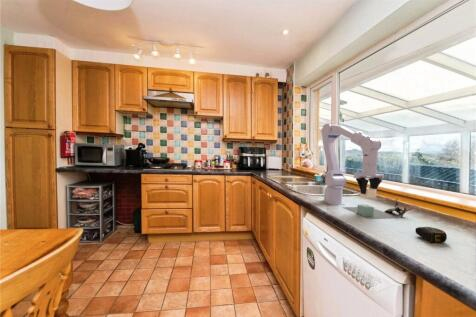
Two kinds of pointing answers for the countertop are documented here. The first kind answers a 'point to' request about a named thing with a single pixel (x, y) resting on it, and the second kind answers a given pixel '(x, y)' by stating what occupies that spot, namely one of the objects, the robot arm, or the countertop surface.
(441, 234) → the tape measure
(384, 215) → the build mat
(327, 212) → the countertop surface
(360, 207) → the teal brick
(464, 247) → the countertop surface
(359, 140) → the robot arm
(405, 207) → the eagle figurine
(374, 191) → the cream brick
